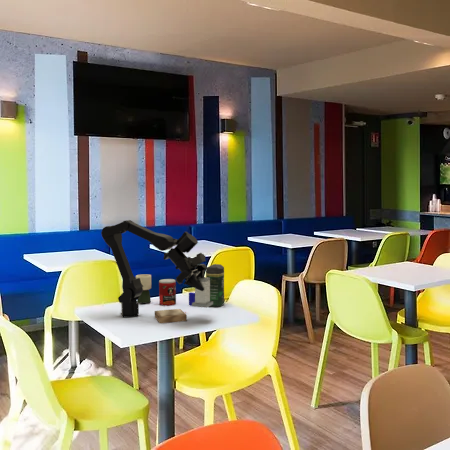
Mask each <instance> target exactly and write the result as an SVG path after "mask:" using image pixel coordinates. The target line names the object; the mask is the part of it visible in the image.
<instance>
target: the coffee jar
mask: <svg viewBox="0 0 450 450" xmlns="http://www.w3.org/2000/svg"><path fill="white" fill-rule="evenodd" d="M205 277H208V278H210V301H213V305H211V306H210V307H212V308H215V307H222V306H223V305H224V304H225V266H223V265H222V264H217V263H215V264H211V265H209V266H207V269H206V270H205Z"/></svg>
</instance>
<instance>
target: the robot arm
mask: <svg viewBox="0 0 450 450" xmlns="http://www.w3.org/2000/svg"><path fill="white" fill-rule="evenodd" d="M126 232H129V233H130V234H133V235H135V236H138V237H139V238H141V239H143V240H146V241H148V242H149V243H150V244H151V245H152V246H153V247H155V248H156V249H157V250H159V251H161V252H162V251H163V260H164V261H165V260H169V259H170V261H171V262H172V263H173V264H174V266H175V269H176V270H179V271H180V272H179V274H178V275H177V276H176V278H175V281H176V282H177V283H178V285H182V284H184V285H187V286H189V287H191V288H194V289H195V288H196V289H198V290H200V291H203V290H204V288H203V287H202V285H201V284H200V282H199V281H198V279H197V278H198V277H205V273H206V269H207V267H208V266H207V265H206V264H205V262H207V261H206V255H205V254H204V253H203V252H198V253H197V254H196V256H194V257H191V256H187V255H186V254H185V253H187V254H188V253H189V252H191V251H192V249H194V248H195V246H197V245H198V243H199V241H198V239H197V237H195V236H194V235H192V234H191V233H189V232H188V231H184V232H183V233H182V235H181V236H180V237H179V238H178V239H177V238H174V237H173V236H171V235H168V234H165V233H161V232H160V233H159V232H155V231H154V230H151V229H149V228H146V227H144V226H142V225H140V224H138V223H136V222H134V221H133V220H130V219H128V220H123V221H121V222H119V223H116V224H113V225H107V226H104V227H102V230H101V232H100V233H101V234H100V235H101V237H102V239H103V241H104V243H106V245H107V246H108V247H109V248H110V250H111V252H112V255H113V257H114V260H115V262H116V265H117V268H118V271H119V274H120V277H121V279H122V282H121V287H122V288H121V289H122V293H121V294H120V295H119V296H118V297H117V299H118V302H119V303H120V306H121V309H120V310H121V312H120V315H121V317H122V318H133V317H139V313H140V312H139V303H138V302H137V299H139V296H140V295H141V294H142V291H143V288H142V287H143V285H142V284H141V280H140V278H137V279H136V276H135V275H134V273H133V271H132V268H131V265H130V263H129V260H128V256H127V255H126V252H125V249H124V246H123V244H122V243H123V235H122V234H125V233H126ZM173 247H174V248H173ZM164 251H167V252H164ZM184 280H185V281H184Z"/></svg>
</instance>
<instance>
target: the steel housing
mask: <svg viewBox="0 0 450 450" xmlns="http://www.w3.org/2000/svg"><path fill="white" fill-rule="evenodd" d="M197 279H198V281H199V282H200V284H201V285H202V287H203V288H204V290H203V291H200V290H198V289H196V288H194V293H195V302H194V303H192V306H191V307H197V308H209V307H211V305H213V301H210V278H208V277H206V276H204V277H198V278H197Z"/></svg>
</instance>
